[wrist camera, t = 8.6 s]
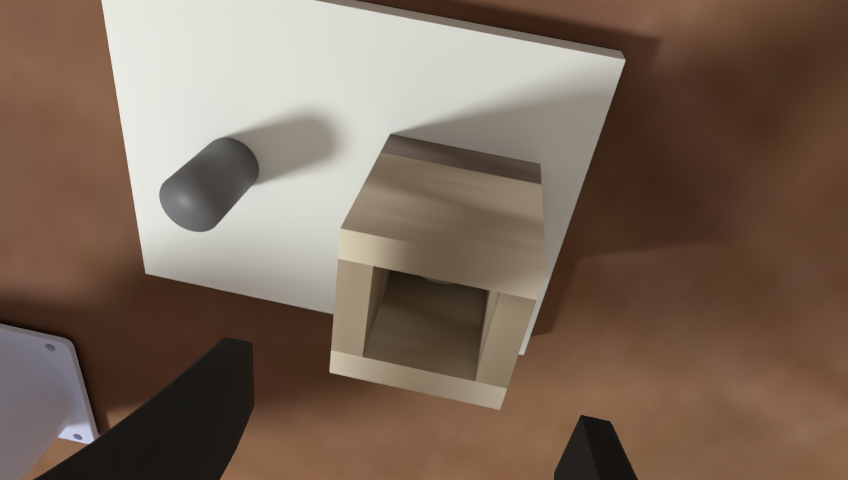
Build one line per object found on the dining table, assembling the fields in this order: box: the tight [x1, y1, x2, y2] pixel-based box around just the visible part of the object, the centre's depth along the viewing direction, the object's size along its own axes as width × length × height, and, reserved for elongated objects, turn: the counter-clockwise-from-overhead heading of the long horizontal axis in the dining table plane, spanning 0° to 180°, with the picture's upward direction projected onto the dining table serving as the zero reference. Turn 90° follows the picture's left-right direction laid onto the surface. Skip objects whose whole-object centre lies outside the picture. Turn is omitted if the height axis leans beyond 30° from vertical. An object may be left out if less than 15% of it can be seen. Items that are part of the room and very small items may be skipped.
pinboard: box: [102, 0, 626, 355], centre depth 19 cm, size 16×12×4 cm
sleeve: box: [329, 134, 546, 410], centre depth 17 cm, size 5×5×6 cm
